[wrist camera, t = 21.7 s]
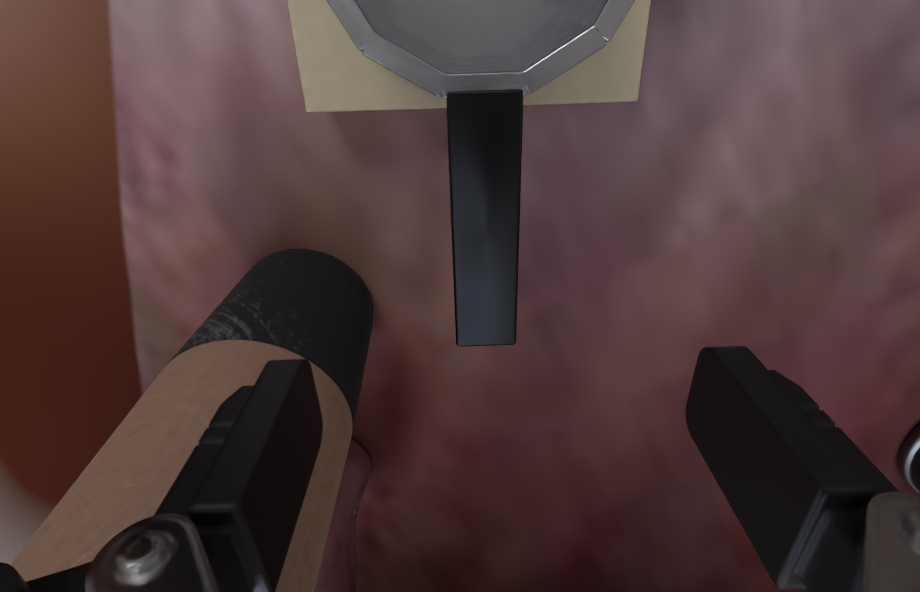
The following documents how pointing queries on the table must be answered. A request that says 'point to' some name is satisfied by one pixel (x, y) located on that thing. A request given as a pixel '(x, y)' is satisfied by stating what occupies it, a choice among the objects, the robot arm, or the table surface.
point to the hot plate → (377, 88)
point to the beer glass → (344, 525)
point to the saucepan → (482, 117)
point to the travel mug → (200, 395)
